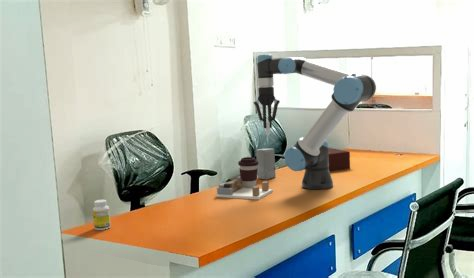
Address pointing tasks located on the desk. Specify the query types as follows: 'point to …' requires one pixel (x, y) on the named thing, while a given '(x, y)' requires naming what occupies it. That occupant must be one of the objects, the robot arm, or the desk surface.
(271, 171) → the skincare box
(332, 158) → the box
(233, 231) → the desk surface
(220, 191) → the board
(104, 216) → the pill bottle
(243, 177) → the coffee cup
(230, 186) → the leg
